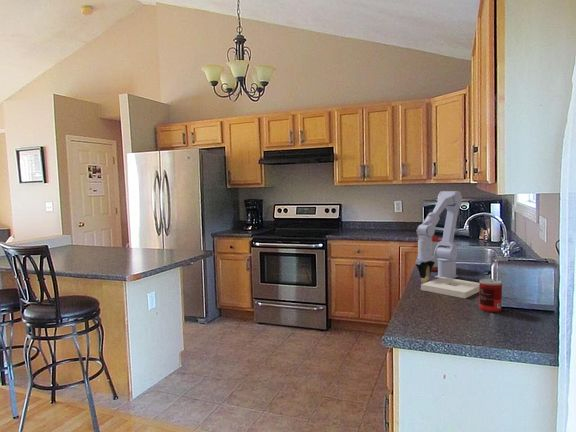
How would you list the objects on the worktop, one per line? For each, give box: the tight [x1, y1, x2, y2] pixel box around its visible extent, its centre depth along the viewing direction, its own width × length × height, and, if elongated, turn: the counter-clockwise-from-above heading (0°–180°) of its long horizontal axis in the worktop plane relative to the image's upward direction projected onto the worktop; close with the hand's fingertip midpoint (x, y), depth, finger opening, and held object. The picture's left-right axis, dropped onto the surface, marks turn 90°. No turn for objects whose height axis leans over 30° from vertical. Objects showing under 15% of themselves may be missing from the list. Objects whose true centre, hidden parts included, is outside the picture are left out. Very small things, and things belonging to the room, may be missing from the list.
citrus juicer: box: [417, 234, 443, 272], centre depth 226 cm, size 16×17×20 cm
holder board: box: [420, 277, 480, 299], centre depth 182 cm, size 20×20×2 cm
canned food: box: [478, 278, 503, 313], centre depth 153 cm, size 8×8×11 cm
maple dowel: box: [420, 266, 431, 284], centre depth 195 cm, size 4×4×8 cm
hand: (425, 276), depth 195 cm, fingers closed on maple dowel, 4 cm apart
